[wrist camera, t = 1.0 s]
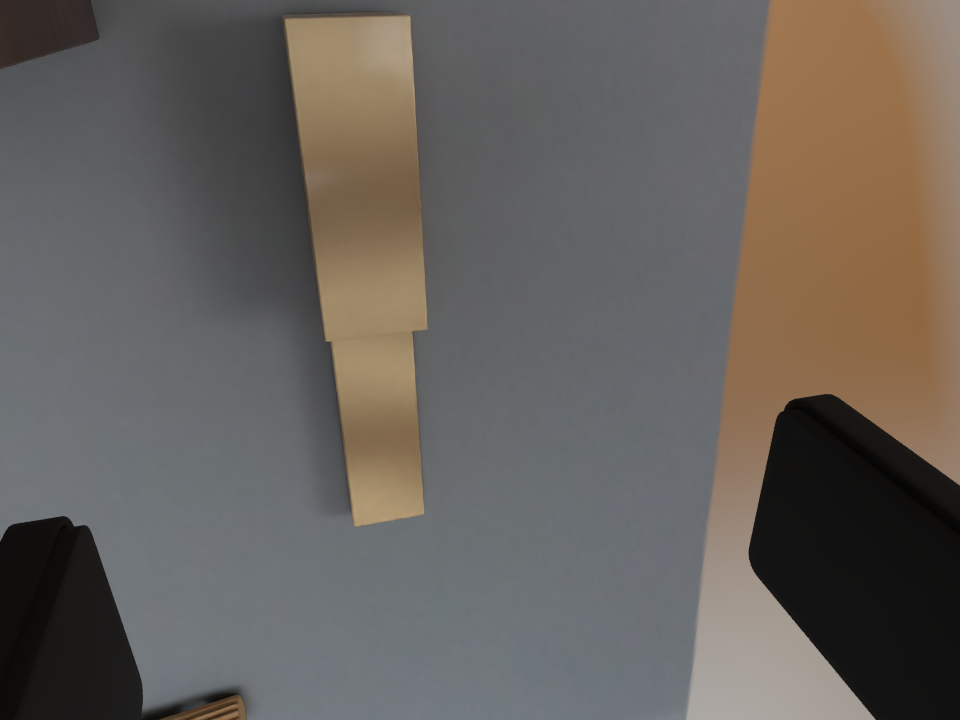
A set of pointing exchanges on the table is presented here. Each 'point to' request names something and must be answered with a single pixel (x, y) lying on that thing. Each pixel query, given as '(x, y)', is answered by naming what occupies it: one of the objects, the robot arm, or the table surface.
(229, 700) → the paintbrush
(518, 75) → the table surface
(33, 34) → the stand
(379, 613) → the table surface
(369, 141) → the tan block
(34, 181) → the table surface
